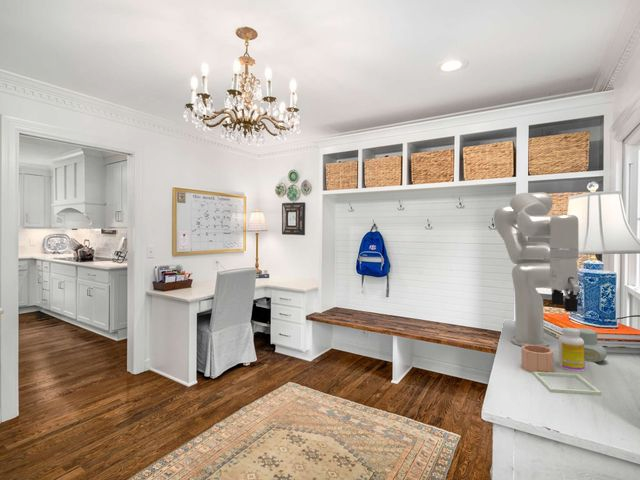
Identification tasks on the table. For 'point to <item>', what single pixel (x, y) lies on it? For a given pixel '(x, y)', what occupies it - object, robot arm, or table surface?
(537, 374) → the tray
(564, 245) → the robot arm
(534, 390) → the table surface
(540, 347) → the pot
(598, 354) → the air freshener
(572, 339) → the supplement bottle
